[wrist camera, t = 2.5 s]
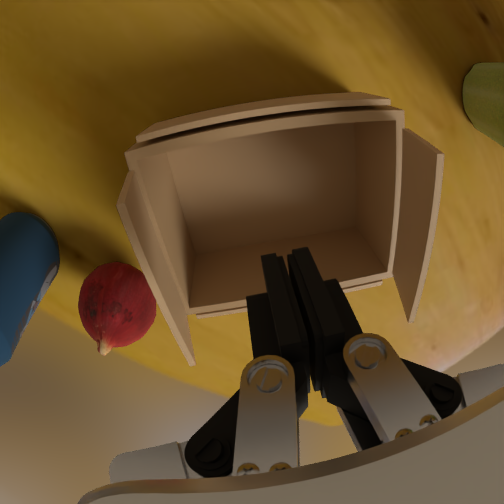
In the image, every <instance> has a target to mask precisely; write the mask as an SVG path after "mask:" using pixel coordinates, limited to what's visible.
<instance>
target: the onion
mask: <svg viewBox="0 0 504 504" xmlns="http://www.w3.org/2000/svg"><path fill="white" fill-rule="evenodd" d="M78 308H79V314H80V318H81V321H82V324H83V326H84V328H85V330H86V331H87V332H88V334H89V335H90V336H91V337H92V338H93V339H94V340H95V341H96V342H97V346H98V352H100V353H101V354H102V355H104V356H105V355H106V354H107V353H108V352H110V350H111V349H112V348H113V347H123V346H127V345H130V344H132V343H133V342H135V341H137V340H139V339H140V338H142V337H143V336H144V335H145V334H146V332H147V331H148V329H149V328H150V326H151V325H152V324H153V322H154V319H155V316H156V299H155V297H154V295H153V293H152V291H151V288H150V286H149V284H148V282H147V280H146V277H145V275H144V274H143V273H142V272H141V271H140V270H138V269H136V268H134V267H133V266H131V265H129V264H124V263H120V262H113V263H107V264H103V265H101V266H98V267H97V268H96V269H95V270H94V271H93V272H92V273H90V274H89V275H88V277H87V278H86V279H85V280H84V282H83V284H82V287H81V290H80V295H79V302H78Z"/></svg>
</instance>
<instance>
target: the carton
mask: <svg viewBox="0 0 504 504" xmlns="http://www.w3.org/2000/svg"><path fill="white" fill-rule="evenodd" d="M388 105H391V102H390V99H389V98H385V97H380V96H376V95H371V94H367V93H362V92H348V93H329V94H316V95H304V96H294V97H285V98H277V99H270V100H263V101H256V102H250V103H244V104H238V105H232V106H227V107H221V108H216V109H212V110H207V111H202V112H198V113H193V114H189V115H185V116H181V117H177V118H173V119H169V120H165V121H161V122H158V123H154V124H153V125H151V126H150V127H148V128H147V129H145V130H144V131H143V132H141V133H140V134H139V135H137V136H136V141H137V142H136V143H135V144H134V145H133V146H132V147H130V148H129V149H128V150H127V151H126V152H124V155H125V158H126V161H127V164H128V168H129V171H133V170H135V173H136V176H137V180H138V183H139V186H140V189H141V192H142V195H143V198H144V201H145V204H146V207H147V210H148V213H149V216H150V219H151V221H152V224H153V227H154V230H155V233H156V236H157V238H158V241H159V244H160V246H161V249H162V252H163V254H164V257H165V260H166V262H167V265H168V267H169V270H170V273H171V275H172V278H173V280H174V283H175V285H176V288H177V290H178V293H179V295H180V297H181V300H182V302H183V305H184V307H185V309H186V314H187V315H190V314H196V316H197V319H200V318H207V317H214V316H221V315H227V314H234V313H240V312H246V311H247V303H246V296H250V295H255V294H260V293H266V292H267V291H266V285H265V279H264V274H263V268H262V262H261V255H266V254H271V253H276V255H277V256H283V259H284V262H285V265H286V268H287V271H288V262H287V255H288V254H292V249H297V248H302V247H308V248H309V250H310V253H311V255H312V257H313V259H314V261H315V263H316V266H317V268H318V270H319V272H320V274H321V277H322V279H323V281H325V280H330V279H334V278H336V279H337V280H338V282H339V284H340V286H341V288H342V290H343V292H344V293H347V292H352V291H356V290H361V289H365V288H370V287H374V286H379V285H382V279H386V278H390V277H393V274H392V270H393V263H394V255H395V248H396V239H397V230H398V220H399V208H400V194H401V175H402V128H405V124H404V110H402V109H398V108H395V107H392V106H388ZM288 274H289V271H288Z"/></svg>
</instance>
